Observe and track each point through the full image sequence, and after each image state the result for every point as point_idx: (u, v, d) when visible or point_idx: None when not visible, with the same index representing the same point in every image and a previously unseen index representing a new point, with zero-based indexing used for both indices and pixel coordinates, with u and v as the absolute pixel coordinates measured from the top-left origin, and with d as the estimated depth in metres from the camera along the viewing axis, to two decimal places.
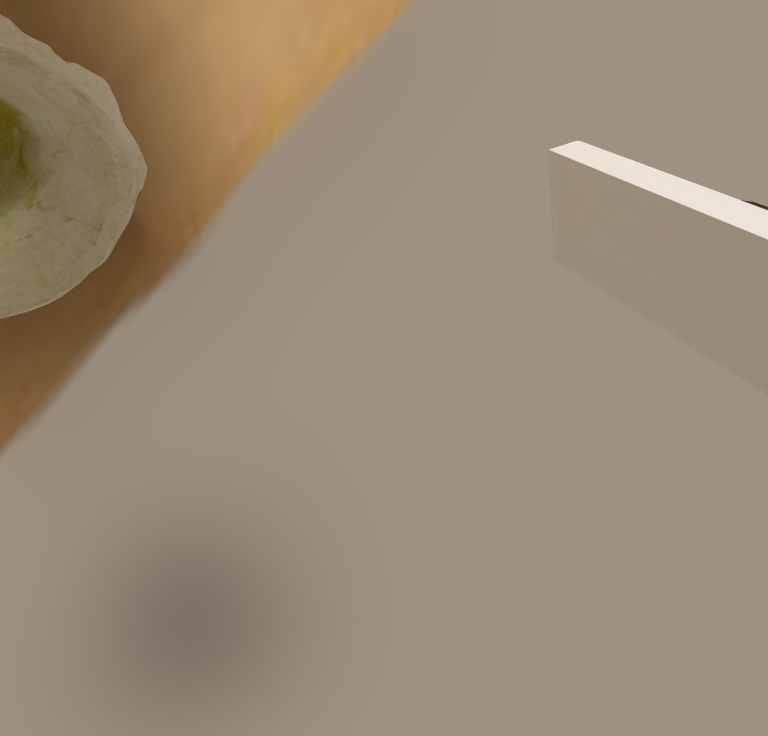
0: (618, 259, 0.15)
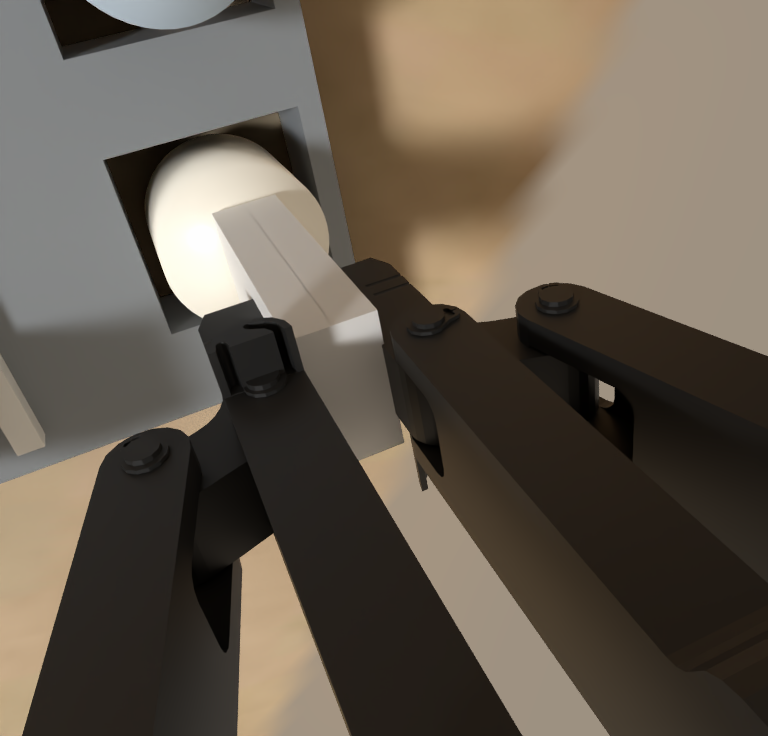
0: None
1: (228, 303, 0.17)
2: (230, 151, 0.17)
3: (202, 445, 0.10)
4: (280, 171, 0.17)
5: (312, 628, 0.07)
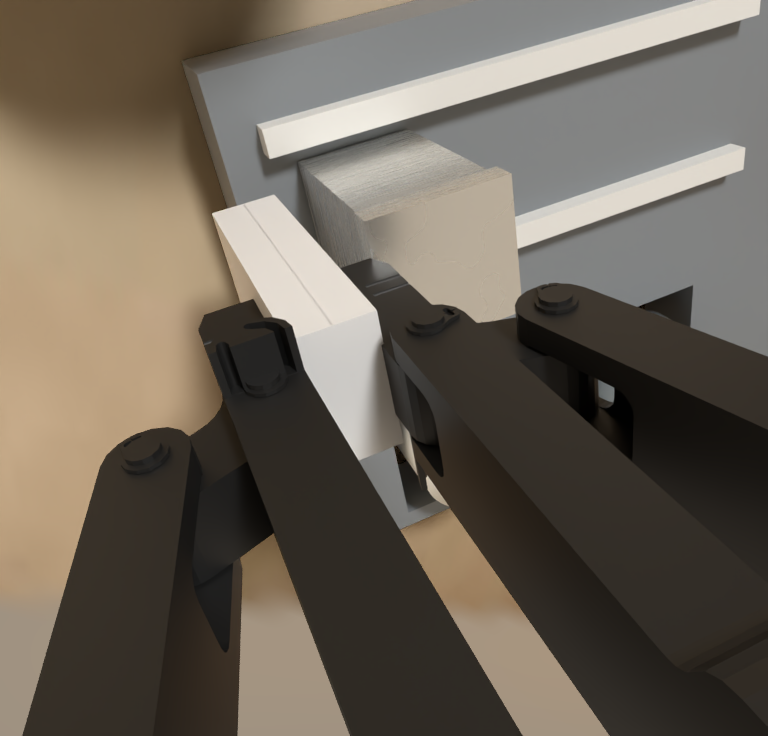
0: None
1: None
2: None
3: (202, 444, 0.10)
4: None
5: (312, 628, 0.07)
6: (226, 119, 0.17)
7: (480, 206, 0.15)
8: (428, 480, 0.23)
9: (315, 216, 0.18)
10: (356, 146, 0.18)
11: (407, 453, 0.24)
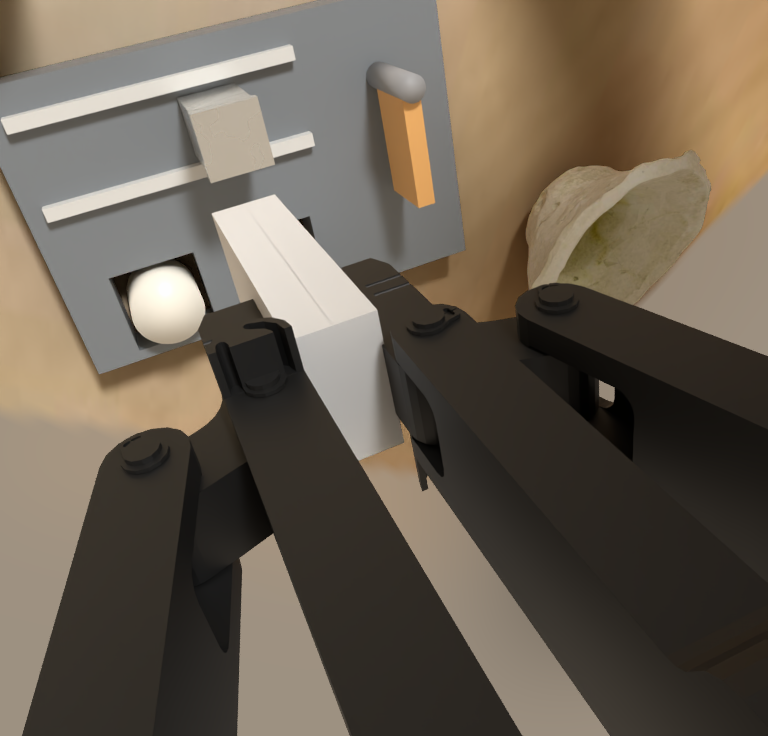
0: None
1: (143, 305, 0.40)
2: None
3: (202, 445, 0.10)
4: None
5: (312, 628, 0.07)
6: None
7: (244, 111, 0.33)
8: (136, 323, 0.40)
9: (186, 125, 0.37)
10: (206, 90, 0.37)
11: None
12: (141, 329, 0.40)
